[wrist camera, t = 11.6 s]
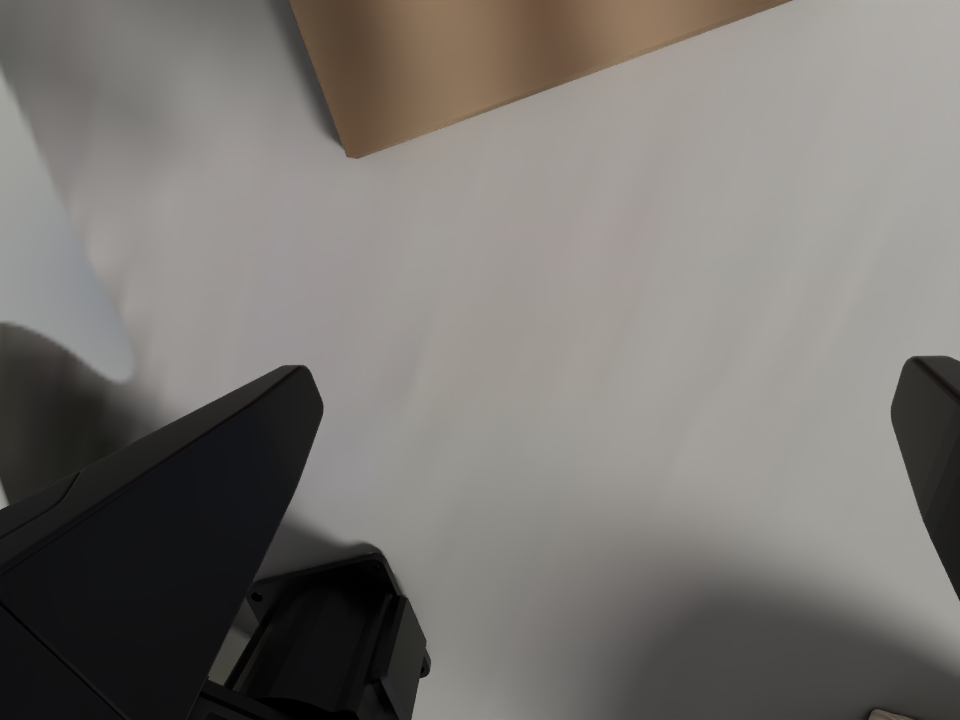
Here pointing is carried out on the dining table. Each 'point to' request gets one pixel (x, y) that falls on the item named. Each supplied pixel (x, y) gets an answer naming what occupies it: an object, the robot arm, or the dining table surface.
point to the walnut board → (476, 53)
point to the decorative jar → (886, 716)
